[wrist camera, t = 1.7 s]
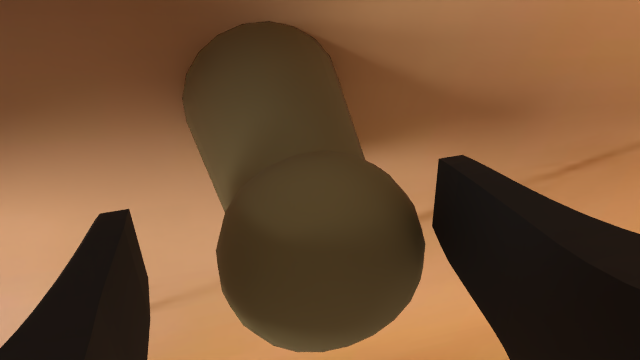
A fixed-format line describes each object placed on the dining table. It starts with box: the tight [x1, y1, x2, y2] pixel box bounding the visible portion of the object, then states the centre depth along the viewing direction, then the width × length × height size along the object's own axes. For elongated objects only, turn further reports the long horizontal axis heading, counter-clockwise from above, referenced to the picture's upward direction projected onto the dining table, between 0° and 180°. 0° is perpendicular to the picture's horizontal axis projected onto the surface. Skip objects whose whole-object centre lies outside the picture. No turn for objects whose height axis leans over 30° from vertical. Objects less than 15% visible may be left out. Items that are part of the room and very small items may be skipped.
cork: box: [182, 21, 425, 352], centre depth 17 cm, size 6×6×11 cm
